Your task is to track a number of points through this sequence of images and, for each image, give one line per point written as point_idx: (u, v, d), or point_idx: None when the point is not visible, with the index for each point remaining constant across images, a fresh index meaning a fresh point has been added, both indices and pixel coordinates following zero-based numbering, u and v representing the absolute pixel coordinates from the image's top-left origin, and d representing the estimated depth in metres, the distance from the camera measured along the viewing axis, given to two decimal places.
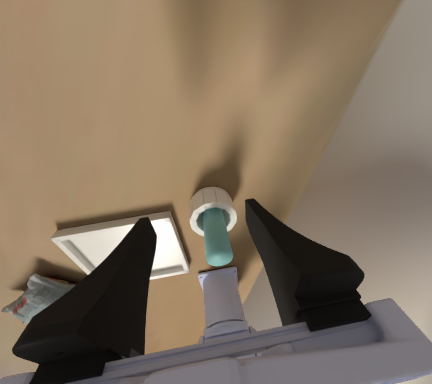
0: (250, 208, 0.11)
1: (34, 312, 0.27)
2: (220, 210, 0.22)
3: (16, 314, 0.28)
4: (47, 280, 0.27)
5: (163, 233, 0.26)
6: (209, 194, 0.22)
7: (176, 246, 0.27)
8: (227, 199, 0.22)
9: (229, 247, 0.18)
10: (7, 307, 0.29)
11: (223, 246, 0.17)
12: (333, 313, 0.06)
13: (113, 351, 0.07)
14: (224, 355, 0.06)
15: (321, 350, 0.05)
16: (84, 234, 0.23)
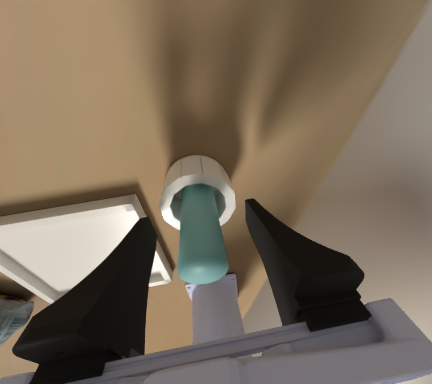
0: (250, 208, 0.11)
1: None
2: (209, 190, 0.14)
3: None
4: None
5: (129, 228, 0.18)
6: (191, 164, 0.14)
7: None
8: (220, 172, 0.14)
9: (221, 250, 0.09)
10: None
11: (208, 248, 0.09)
12: (333, 313, 0.06)
13: (113, 351, 0.07)
14: (224, 355, 0.06)
15: (321, 350, 0.05)
16: None
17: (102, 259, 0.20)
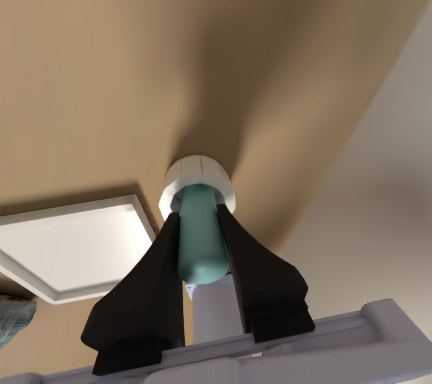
0: (218, 214, 0.11)
1: None
2: (209, 190, 0.14)
3: None
4: None
5: (129, 228, 0.18)
6: (191, 164, 0.14)
7: (148, 247, 0.19)
8: (220, 172, 0.14)
9: (221, 250, 0.09)
10: None
11: (208, 248, 0.09)
12: (278, 324, 0.06)
13: (166, 340, 0.07)
14: (224, 355, 0.06)
15: (321, 350, 0.05)
16: None
17: (102, 259, 0.20)
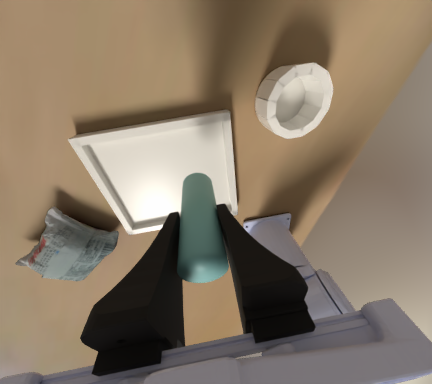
0: (218, 214, 0.11)
1: (55, 258, 0.21)
2: (210, 189, 0.14)
3: (33, 264, 0.22)
4: (69, 218, 0.21)
5: (214, 147, 0.20)
6: (294, 64, 0.15)
7: (229, 168, 0.21)
8: None
9: (221, 249, 0.09)
10: (22, 259, 0.23)
11: (209, 246, 0.09)
12: (278, 324, 0.06)
13: (166, 340, 0.07)
14: (224, 355, 0.06)
15: (321, 350, 0.05)
16: (114, 135, 0.17)
17: (181, 185, 0.22)
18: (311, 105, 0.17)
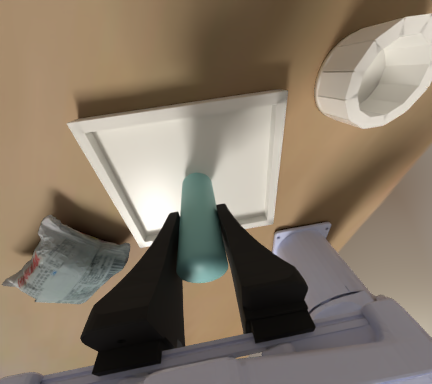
0: (218, 214, 0.11)
1: (52, 280, 0.17)
2: (210, 189, 0.14)
3: (24, 286, 0.17)
4: (70, 229, 0.17)
5: (256, 140, 0.15)
6: None
7: (273, 167, 0.16)
8: None
9: (221, 249, 0.09)
10: (10, 278, 0.19)
11: (208, 246, 0.09)
12: (278, 324, 0.06)
13: (166, 340, 0.07)
14: (224, 355, 0.06)
15: (321, 350, 0.05)
16: (130, 119, 0.12)
17: None
18: (396, 84, 0.13)
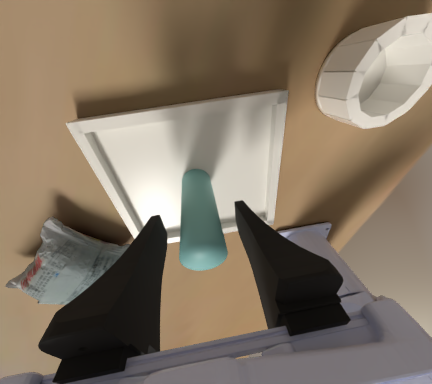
0: (238, 210, 0.11)
1: (54, 282, 0.17)
2: (209, 184, 0.15)
3: (27, 288, 0.17)
4: (72, 231, 0.17)
5: (257, 140, 0.15)
6: None
7: (274, 167, 0.16)
8: None
9: (221, 237, 0.10)
10: (14, 280, 0.19)
11: (209, 234, 0.10)
12: (313, 317, 0.06)
13: (133, 347, 0.07)
14: (224, 355, 0.06)
15: (321, 350, 0.05)
16: (130, 119, 0.12)
17: None
18: (397, 84, 0.13)
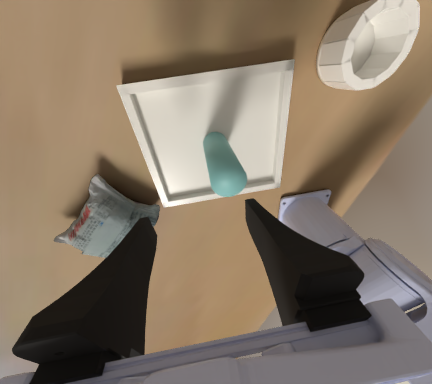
0: (250, 208, 0.11)
1: (99, 230, 0.20)
2: (227, 141, 0.18)
3: (74, 238, 0.21)
4: (112, 188, 0.20)
5: (267, 106, 0.18)
6: None
7: (281, 130, 0.19)
8: None
9: (242, 167, 0.13)
10: (60, 235, 0.22)
11: (234, 162, 0.12)
12: (333, 313, 0.06)
13: (113, 351, 0.07)
14: (224, 355, 0.06)
15: (321, 350, 0.05)
16: (166, 82, 0.15)
17: None
18: (383, 53, 0.16)
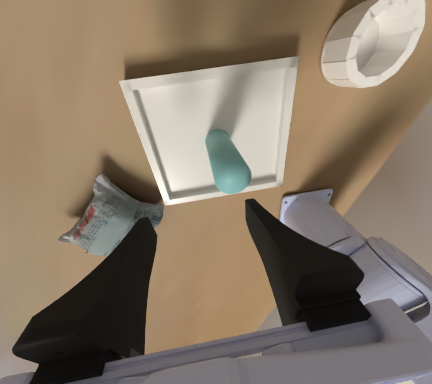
0: (250, 208, 0.11)
1: (103, 229, 0.20)
2: (230, 139, 0.17)
3: (79, 237, 0.21)
4: (116, 187, 0.20)
5: (270, 103, 0.18)
6: None
7: (284, 127, 0.19)
8: None
9: (246, 164, 0.13)
10: (65, 234, 0.22)
11: (238, 159, 0.12)
12: (333, 313, 0.06)
13: (113, 351, 0.07)
14: (224, 355, 0.06)
15: (321, 350, 0.05)
16: (170, 78, 0.15)
17: None
18: (388, 51, 0.16)
